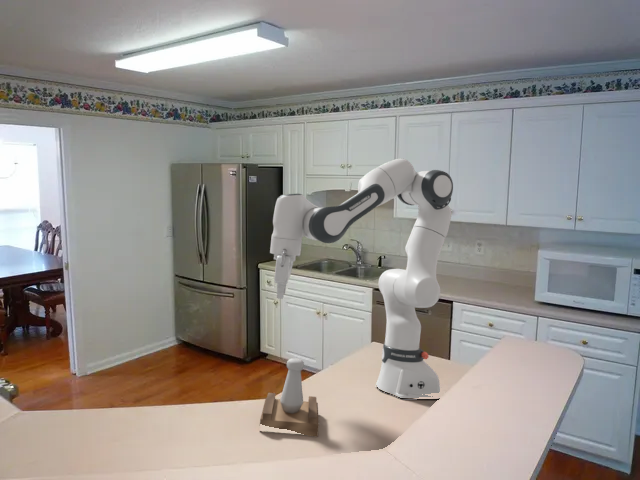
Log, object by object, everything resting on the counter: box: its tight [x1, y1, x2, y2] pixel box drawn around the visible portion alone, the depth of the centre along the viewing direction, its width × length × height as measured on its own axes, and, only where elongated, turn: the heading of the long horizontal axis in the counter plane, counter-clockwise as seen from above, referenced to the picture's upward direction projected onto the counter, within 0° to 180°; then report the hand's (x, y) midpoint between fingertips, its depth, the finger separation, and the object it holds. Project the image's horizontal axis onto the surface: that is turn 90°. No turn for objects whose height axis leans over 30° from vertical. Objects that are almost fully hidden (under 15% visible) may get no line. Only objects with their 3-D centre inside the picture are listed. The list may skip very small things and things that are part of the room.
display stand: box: [259, 392, 320, 438], centre depth 118 cm, size 14×14×4 cm
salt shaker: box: [280, 357, 305, 414], centre depth 118 cm, size 6×6×13 cm
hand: (281, 295), depth 135 cm, fingers open, 8 cm apart
